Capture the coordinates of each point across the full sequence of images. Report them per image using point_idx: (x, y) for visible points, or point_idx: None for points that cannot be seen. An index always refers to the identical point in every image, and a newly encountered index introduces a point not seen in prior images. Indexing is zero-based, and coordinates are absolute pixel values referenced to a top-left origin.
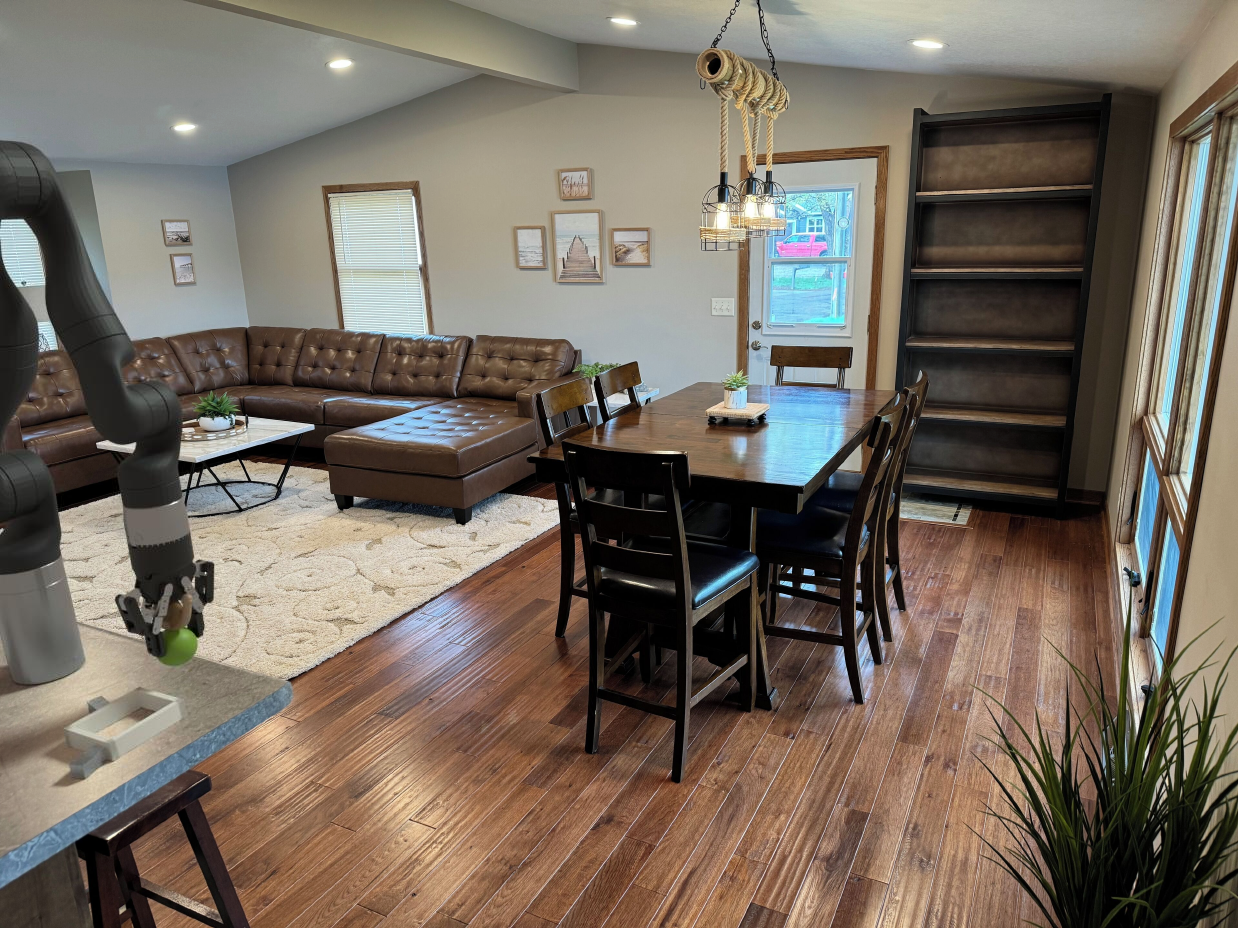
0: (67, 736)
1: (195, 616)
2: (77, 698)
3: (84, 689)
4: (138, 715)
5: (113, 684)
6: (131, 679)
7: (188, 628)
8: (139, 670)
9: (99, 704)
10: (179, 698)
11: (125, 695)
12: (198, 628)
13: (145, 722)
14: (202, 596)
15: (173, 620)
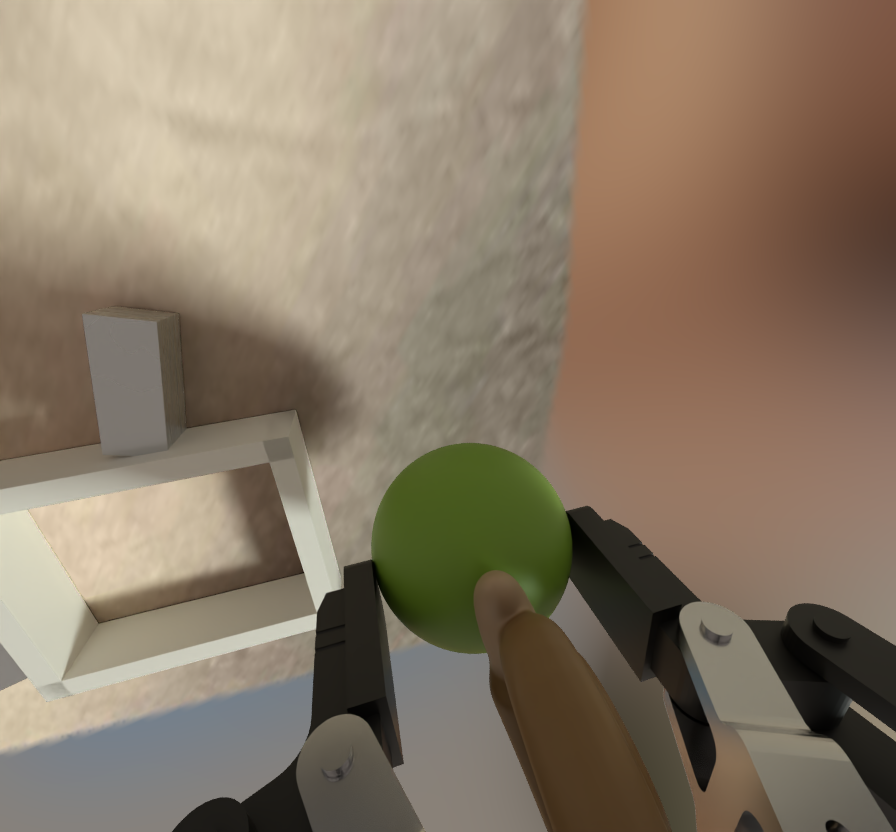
0: None
1: (632, 667)
2: (109, 100)
3: (169, 35)
4: (248, 472)
5: (289, 146)
6: (360, 185)
7: (583, 537)
8: (421, 136)
9: (122, 390)
10: None
11: (217, 456)
12: (589, 602)
13: (193, 660)
14: (805, 721)
15: (515, 748)
